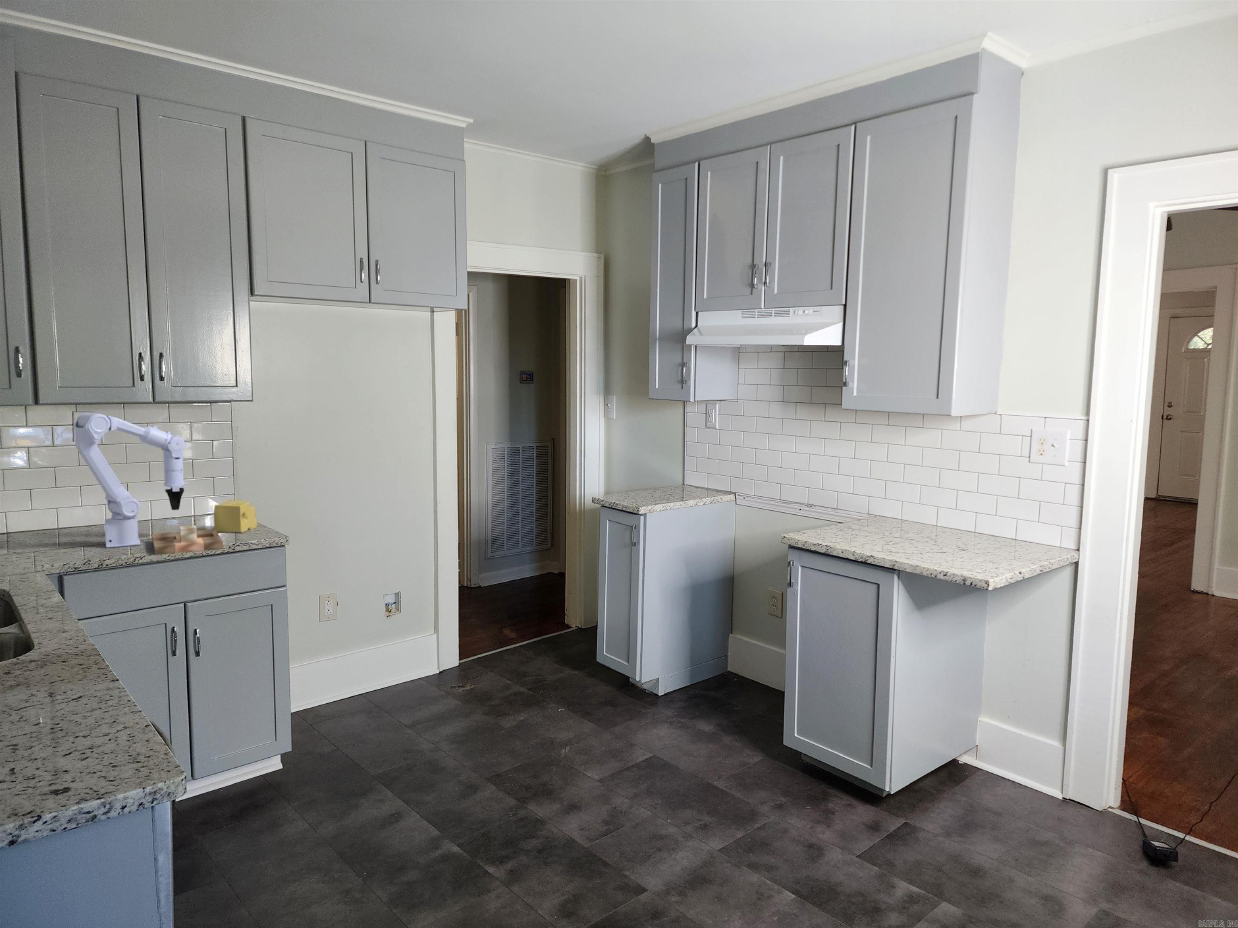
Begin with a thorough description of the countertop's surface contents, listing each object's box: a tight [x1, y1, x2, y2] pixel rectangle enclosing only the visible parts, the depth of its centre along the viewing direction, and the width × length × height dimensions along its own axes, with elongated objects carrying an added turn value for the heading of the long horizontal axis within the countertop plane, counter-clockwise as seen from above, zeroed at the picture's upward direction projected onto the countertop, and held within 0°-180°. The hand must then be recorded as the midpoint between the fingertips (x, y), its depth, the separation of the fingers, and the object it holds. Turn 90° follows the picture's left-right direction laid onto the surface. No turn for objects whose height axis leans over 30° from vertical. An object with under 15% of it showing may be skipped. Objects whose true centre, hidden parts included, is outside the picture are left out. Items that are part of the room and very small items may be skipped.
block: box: [179, 525, 198, 543], centre depth 262 cm, size 4×4×4 cm
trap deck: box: [151, 528, 224, 556], centre depth 267 cm, size 19×22×2 cm
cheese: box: [213, 499, 258, 533], centre depth 293 cm, size 10×11×10 cm
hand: (175, 509), depth 279 cm, fingers closed
